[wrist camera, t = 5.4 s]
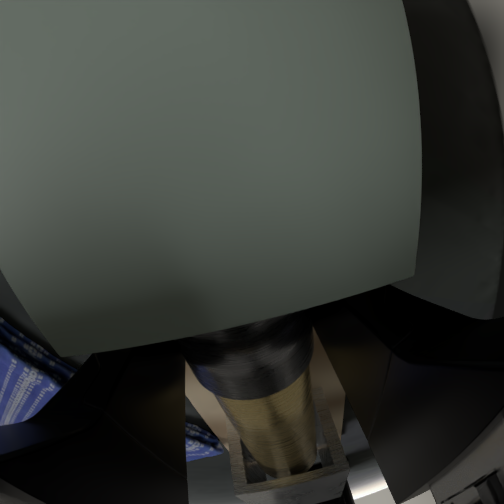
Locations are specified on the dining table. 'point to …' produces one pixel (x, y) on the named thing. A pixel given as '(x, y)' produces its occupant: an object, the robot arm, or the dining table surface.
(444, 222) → the dining table surface
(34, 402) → the dish towel
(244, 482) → the sleeve
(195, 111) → the socket
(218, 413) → the mounting board
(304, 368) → the tube
